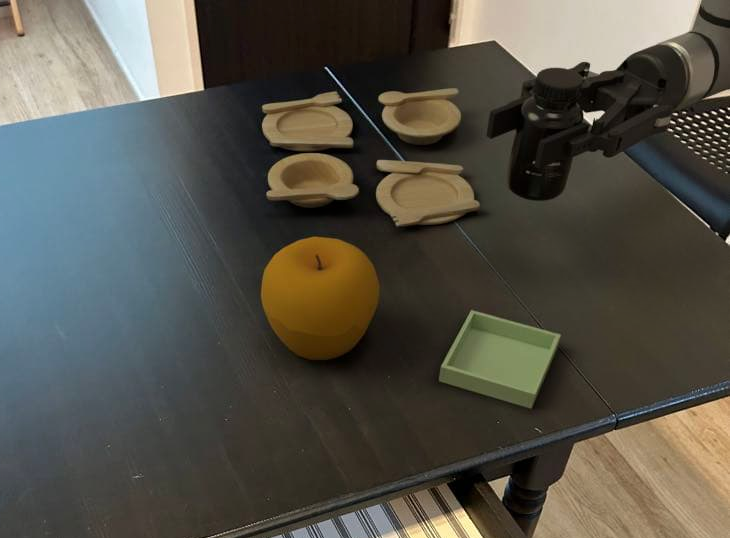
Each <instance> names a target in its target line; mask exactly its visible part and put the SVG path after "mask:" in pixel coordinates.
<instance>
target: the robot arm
mask: <svg viewBox="0 0 730 538" xmlns="http://www.w3.org/2000/svg"><path fill="white" fill-rule="evenodd" d="M697 10H698V11H697V13H696V16H695V19H694V22H693V25H692V28H691V30H689V31H686V32H685V33H683V34H680V35H677V36H674V37H671V38H669V39H666V40H663V41H660V42H657V43H656V44H654V45H651V46H649V47H646V48H643V49H640V50H638V51H635V52H633V53H632V54H630V55H628V56H627V57H626V58H625V59H624V60H623V61H622V62H621V63H620V65H619V66H618V67H617V68H616V69H613V70H603V71H601V72H600V73H596V72H594V71H591V70H590V68H591V63H590V62H588V61H581V62H580V63H578V64H576V65H575V66H573V67H570V68H568V69H569V70H572V71H574V72H577V73H578V74H579V75H580V76H581V77H582V78H583V84H582V88H581V92H580V93H581V94H580V98H579V101H578V103H579V104H580V106H581V108H582V110H583V113H585V114H589V113H596V112H603V114H602V115H601V116H600V117H599V118H596V117H593V120H592V124H591V128H590V124H588V123H587V122H586V121H585V122H584V121H583V123H581V124H579V125H576V126H574V127H571V128H569V129H566V130H564V131H562V132H559V133H557V134H554V135H552V136H549V137H547V138H545V139H542V140H540V141H539V145H538V150H537V155H536V160H535V164H534V166H535V167H537V168H539V169H540V168H543V167H545V166H547V165H550V164H552V163H554V162H557V161H559V160H561V159H564V158H566V157H568V156H569V157H573V158H575V157H577V156H579V155H581V154H584V153H587V152H588V153H589V152H590V153H595V152H598V151H602V156H604V157H605V158H609V159H610V158H613V157H616V156H617V155H619V154H620V153H622V152H624V151H625V150H628V149H629V148H631V147H633V146H635V145H636V144H638V143H639V142H642V141H644V140H645V139H647V138H648V137H650V136H652V135H657V134H661V133H665V132H667V130H668V128H669V125H670V122H671V119H672V116H673V112H676V111H678V110H681V109H683V108H686V107H688V106H690V105H692V104H695V103H697V102H700V101H703V100H705V99H707V98H710V97H712V96H714V95H717V94H720V93H722V92H726V91H729V90H730V0H701V1H700V4H699V7H698V9H697ZM535 81H536V78H533V79H529V80H525V81H523V82H522V86H521V91H520V95H519V96H520V97H519V98H516V99H515V100H511V101H509V102H508V103H506V104H505V105H502V106H500V107H497V108H495V109H492V110H490V111H489V116H488V123H487V129H486V134H485V135H486V137H487V138H488V139H490V140H492V139H495V138H497V137H499V136H502V135H504V134H507V133H509V132H512V131H514V130H515V131H516V126H517V121H518V116H519V112H520V108H521V106H522V105H523V103H524V102H525V101H526V100H527V99H528V98H530V97H531V96H533V94H532V92H533V87H534V86H535ZM589 129H590V130H589Z"/></svg>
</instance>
